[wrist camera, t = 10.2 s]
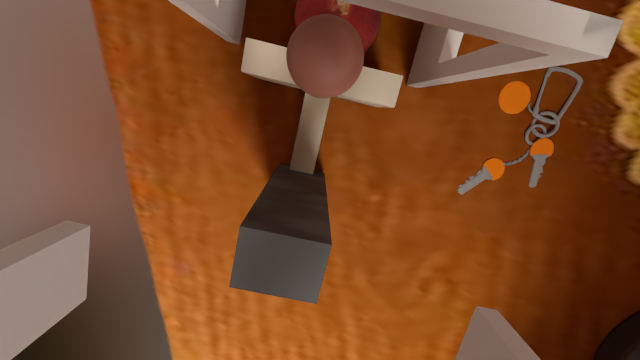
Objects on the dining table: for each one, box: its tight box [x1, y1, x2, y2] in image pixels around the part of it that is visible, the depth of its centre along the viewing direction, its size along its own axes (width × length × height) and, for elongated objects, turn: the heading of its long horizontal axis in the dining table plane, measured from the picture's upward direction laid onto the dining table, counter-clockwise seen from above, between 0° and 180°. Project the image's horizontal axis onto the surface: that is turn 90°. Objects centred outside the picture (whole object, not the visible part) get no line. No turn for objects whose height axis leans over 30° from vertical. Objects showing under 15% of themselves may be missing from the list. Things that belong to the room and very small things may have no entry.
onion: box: [294, 0, 381, 54], centre depth 20 cm, size 6×6×8 cm
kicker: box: [229, 14, 403, 304], centre depth 19 cm, size 10×12×14 cm
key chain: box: [457, 67, 583, 195], centre depth 26 cm, size 13×7×1 cm, turn 161°
